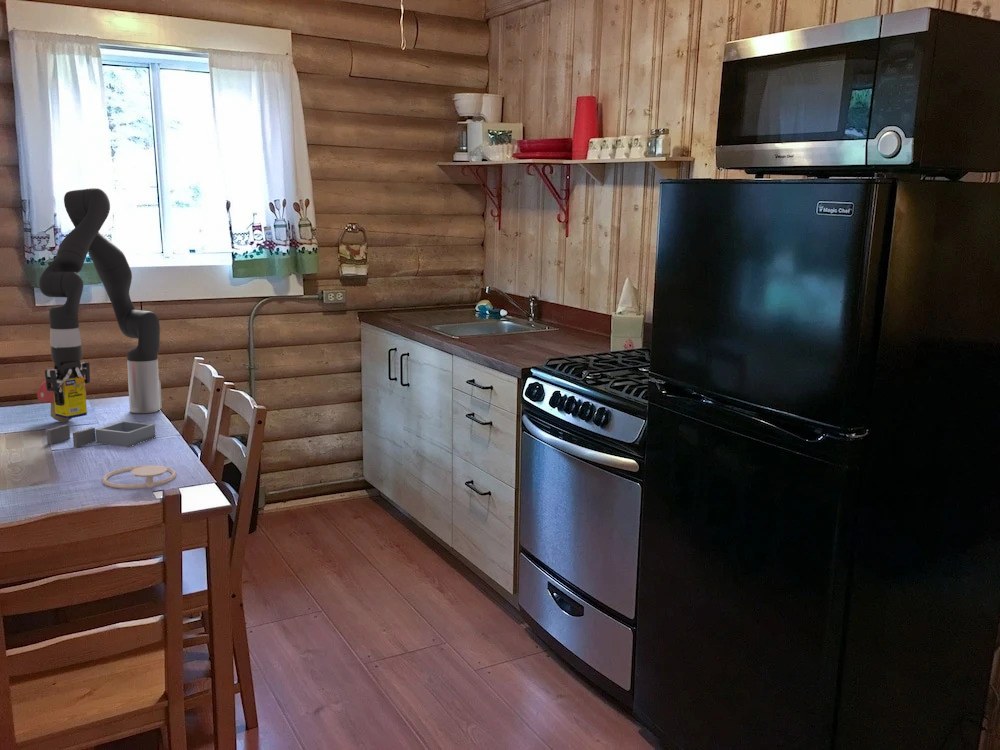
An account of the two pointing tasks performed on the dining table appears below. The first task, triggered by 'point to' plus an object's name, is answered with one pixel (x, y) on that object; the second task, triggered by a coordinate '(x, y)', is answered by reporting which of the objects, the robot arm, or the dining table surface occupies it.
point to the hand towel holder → (141, 472)
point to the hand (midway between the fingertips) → (70, 402)
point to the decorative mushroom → (49, 400)
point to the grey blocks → (64, 433)
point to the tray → (125, 433)
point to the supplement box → (72, 399)
